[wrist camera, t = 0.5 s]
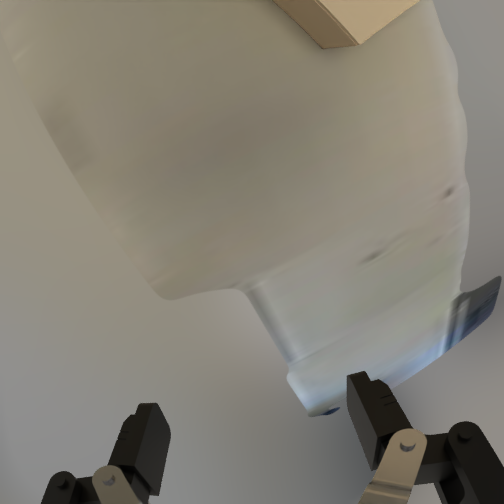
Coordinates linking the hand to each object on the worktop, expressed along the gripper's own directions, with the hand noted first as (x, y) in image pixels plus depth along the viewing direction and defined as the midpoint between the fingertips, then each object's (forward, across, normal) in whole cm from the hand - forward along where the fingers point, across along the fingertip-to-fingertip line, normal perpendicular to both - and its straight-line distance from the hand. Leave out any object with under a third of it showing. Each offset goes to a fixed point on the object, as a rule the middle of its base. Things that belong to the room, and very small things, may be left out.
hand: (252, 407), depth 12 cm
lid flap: (+12, -15, -29) cm, 35 cm away
